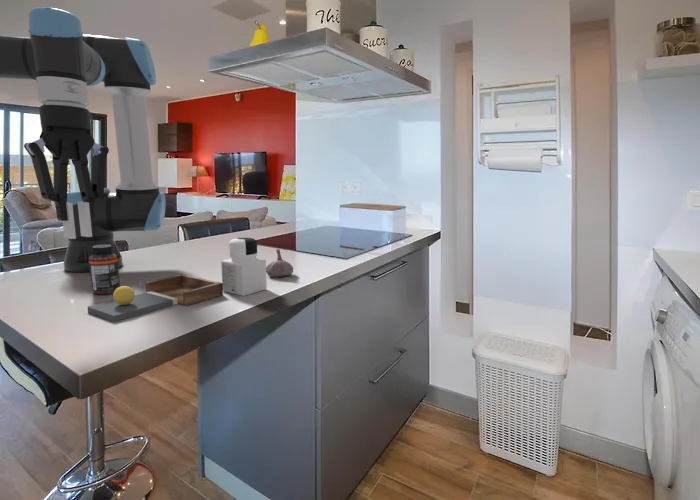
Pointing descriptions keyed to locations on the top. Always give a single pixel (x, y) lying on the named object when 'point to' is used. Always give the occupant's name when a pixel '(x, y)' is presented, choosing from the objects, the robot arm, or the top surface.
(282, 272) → the garlic bulb
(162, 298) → the grey flat slab
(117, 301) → the ball
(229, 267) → the container
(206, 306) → the top surface
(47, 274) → the top surface
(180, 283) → the tray
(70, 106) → the robot arm
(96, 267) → the supplement bottle
